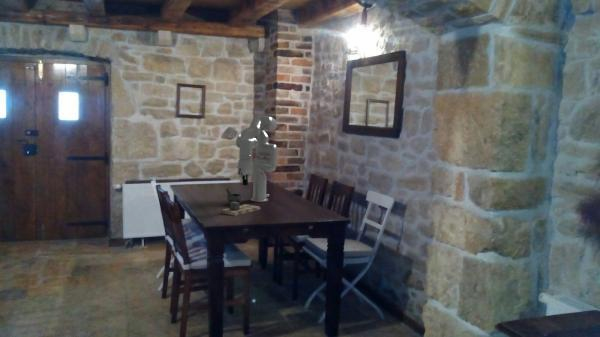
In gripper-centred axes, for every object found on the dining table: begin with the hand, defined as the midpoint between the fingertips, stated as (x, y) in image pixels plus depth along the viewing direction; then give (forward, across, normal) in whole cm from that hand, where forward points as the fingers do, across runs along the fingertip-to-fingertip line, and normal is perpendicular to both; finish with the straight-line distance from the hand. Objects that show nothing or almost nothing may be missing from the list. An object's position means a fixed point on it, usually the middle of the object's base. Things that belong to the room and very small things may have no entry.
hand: (245, 184), depth 319 cm
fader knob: (+14, +11, +1) cm, 18 cm away
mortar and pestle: (+18, -8, -17) cm, 26 cm away
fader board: (+17, +5, +1) cm, 17 cm away
